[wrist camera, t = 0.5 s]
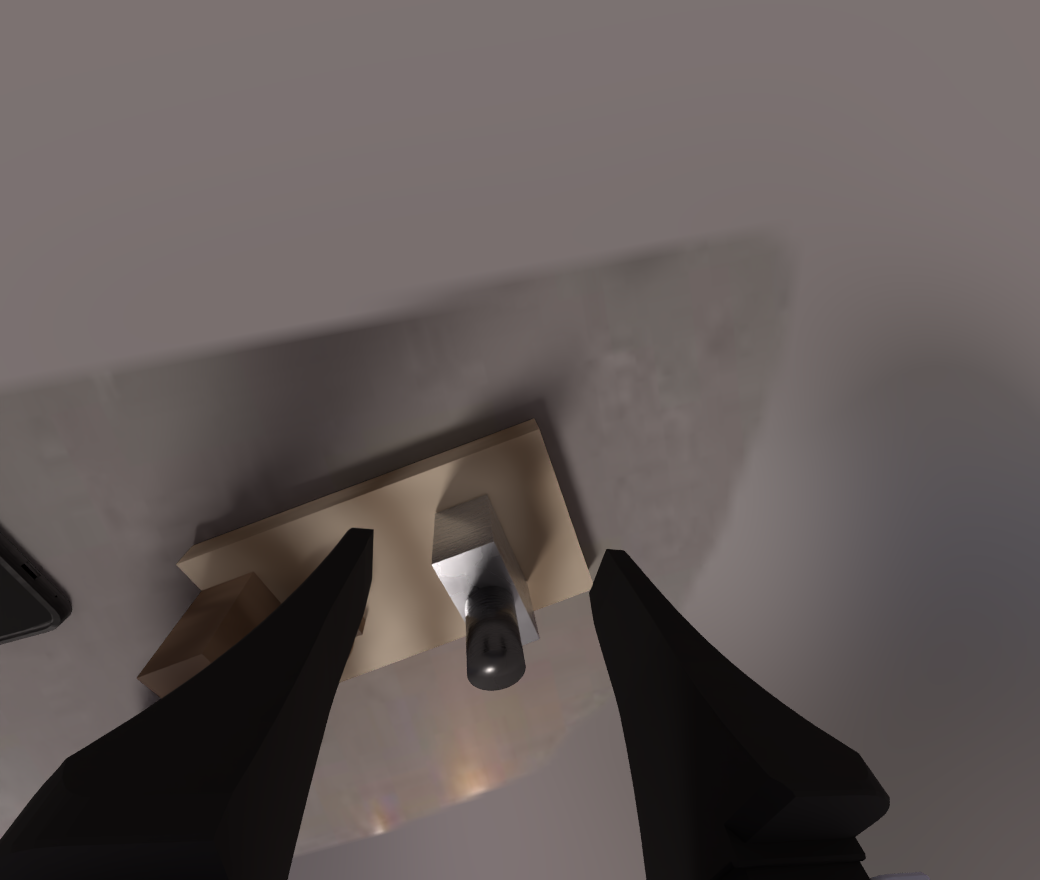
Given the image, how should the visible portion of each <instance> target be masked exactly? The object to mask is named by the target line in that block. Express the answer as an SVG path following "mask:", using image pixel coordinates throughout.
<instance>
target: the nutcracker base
mask: <svg viewBox="0 0 1040 880" xmlns="http://www.w3.org/2000/svg"><path fill="white" fill-rule="evenodd" d="M486 494H487V495H488V497H489V499H490V501H491V504H492V506H493V508H494V510H495V513H496V515H497V517H498V519H499V521H500V524H501V526H502V528H503V530H504V533H505V535H506V537H507V539H508V541H509V544H510V546H511V548H512V550H513V553H514V555H515V557H516V559H517V561H518V564H519V566H520V568H521V570H522V573H523V575H524V577H525V579H526V581H527V584H528V588H529V593H530V597H531V602H532V606H533V611H535V610H538V609H540V608H543V607H546V606H548V605H551V604H554V603H557V602H559V601H562V600H565V599H567V598H570V597H573V596H575V595H578V594H581V593H584V592H586V591H589V590H591V587H592V585H593V582H592V580H591V577H590V574H589V571H588V568H587V565H586V562H585V559H584V556H583V554H582V551H581V548H580V545H579V542H578V539H577V536H576V533H575V530H574V528H573V525H572V522H571V519H570V516H569V513H568V510H567V507H566V505H565V502H564V499H563V496H562V493H561V490H560V487H559V484H558V481H557V479H556V476H555V473H554V470H553V467H552V464H551V461H550V458H549V456H548V453H547V450H546V447H545V444H544V441H543V438H542V435H541V432H540V430H539V427H538V425H537V423H536V421H535V419H531V420H528V421H526V422H523V423H520V424H518V425H515V426H512V427H510V428H507V429H504V430H502V431H499V432H496V433H494V434H491V435H488V436H486V437H483V438H480V439H477V440H475V441H472V442H469V443H467V444H464V445H461V446H459V447H456V448H453V449H451V450H448V451H445V452H443V453H440V454H437V455H435V456H432V457H429V458H427V459H424V460H421V461H418V462H416V463H413V464H410V465H408V466H405V467H402V468H400V469H397V470H394V471H392V472H389V473H386V474H384V475H381V476H378V477H376V478H373V479H370V480H368V481H365V482H362V483H359V484H357V485H354V486H351V487H349V488H346V489H343V490H341V491H338V492H335V493H333V494H330V495H327V496H325V497H322V498H319V499H317V500H314V501H311V502H309V503H306V504H303V505H300V506H298V507H295V508H292V509H290V510H287V511H284V512H282V513H279V514H276V515H274V516H271V517H268V518H266V519H263V520H260V521H258V522H255V523H252V524H250V525H247V526H244V527H241V528H239V529H236V530H233V531H231V532H228V533H225V534H223V535H220V536H217V537H215V538H212V539H209V540H207V541H204V542H201V543H199V544H196V545H193V546H192V547H191V548H190V549H189V550H188V552H187V553H186V554H185V555H184V556H183V557H182V558H181V559H180V561H179V562H178V563H177V564H176V565H177V566H178V567H179V568H180V569H181V570H182V571H183V572H184V573H185V574H186V575H187V576H188V577H189V578H190V579H191V580H192V581H193V582H194V584H195V585H196V586H197V587H198V588H199V589H200V590H201V592H200V594H199V595H198V596H197V598H196V599H195V600H194V602H193V603H192V604H191V606H190V607H189V608H188V610H187V611H186V612H185V614H184V615H183V616H182V618H181V619H180V620H179V622H178V623H177V624H176V626H175V627H174V628H173V630H172V631H171V632H170V634H169V635H168V636H167V638H166V639H165V640H164V642H163V643H162V644H161V646H160V647H159V648H158V650H157V651H156V653H155V654H154V655H153V657H152V658H151V659H150V661H149V662H148V663H147V665H146V666H145V667H144V669H143V670H142V671H141V673H140V674H139V675H138V677H137V679H138V680H139V681H140V682H142V683H143V684H144V685H145V686H147V687H148V688H149V689H150V690H152V691H153V692H154V693H155V694H157V695H158V696H159V697H160V698H163V697H164V696H166V695H167V694H169V693H170V692H172V691H173V690H174V689H176V688H177V687H179V686H180V685H182V684H183V683H184V682H186V681H187V680H189V679H190V678H192V677H193V676H195V675H196V674H197V673H199V672H200V671H201V670H203V669H204V668H205V667H207V666H208V665H209V664H211V663H212V662H213V661H215V660H216V659H217V658H218V657H220V656H221V655H222V654H223V653H225V652H226V651H227V650H229V649H230V648H231V647H232V646H234V645H235V644H236V643H237V642H239V641H240V640H241V639H242V638H244V637H245V636H246V635H247V634H248V633H249V632H251V631H252V630H253V629H254V628H255V627H256V626H258V625H259V624H260V623H261V622H262V621H263V620H264V619H266V618H267V617H268V616H269V615H270V614H271V613H272V612H273V611H274V610H275V609H276V608H278V607H279V606H280V605H281V604H282V603H283V602H284V601H285V600H286V599H287V598H288V597H289V596H290V595H291V594H292V593H293V592H294V591H295V590H296V589H297V588H298V587H299V586H300V585H301V584H302V583H303V582H304V581H305V580H306V579H307V578H308V577H309V575H310V574H311V573H312V572H313V571H314V570H315V569H316V568H317V567H318V566H319V565H320V564H321V562H322V561H323V560H324V559H325V558H326V557H327V556H328V554H329V553H330V552H331V551H332V550H333V548H334V547H335V546H336V545H337V544H338V542H339V541H340V540H341V539H342V537H343V536H344V535H345V533H346V532H347V531H348V530H349V529H350V528H364V529H374V538H373V571H372V582H371V587H370V591H369V595H368V599H367V603H366V607H365V611H364V615H363V618H362V620H361V623H360V626H359V629H358V632H357V635H356V637H355V642H354V647H353V650H352V653H351V655H350V657H349V659H348V660H347V662H346V665H345V668H344V671H343V673H342V676H341V679H340V682H343V681H345V680H348V679H351V678H353V677H356V676H359V675H362V674H364V673H367V672H370V671H372V670H375V669H378V668H381V667H383V666H386V665H389V664H391V663H394V662H397V661H399V660H402V659H405V658H408V657H410V656H413V655H416V654H418V653H421V652H424V651H427V650H429V649H432V648H435V647H437V646H440V645H443V644H446V643H448V642H451V641H454V640H456V639H459V638H462V637H464V636H466V623H465V621H464V620H463V618H462V616H461V615H460V613H459V611H458V609H457V608H456V606H455V604H454V603H453V601H452V599H451V597H450V596H449V594H448V592H447V591H446V589H445V587H444V585H443V584H442V582H441V580H440V579H439V577H438V575H437V573H436V572H435V570H434V568H433V567H432V565H431V564H432V550H433V535H434V521H435V513H438V512H440V511H443V510H446V509H448V508H451V507H454V506H457V505H459V504H462V503H465V502H467V501H470V500H473V499H475V498H478V497H481V496H483V495H486ZM340 682H339V683H340Z"/></svg>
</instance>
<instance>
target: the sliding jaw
mask: <svg viewBox="0 0 1040 880" xmlns="http://www.w3.org/2000/svg"><path fill="white" fill-rule="evenodd" d="M431 565H432V567H433V568H434V570H435V572H436V573H437V575H438V577H439V579H440V580H441V582H442V584H443V585H444V587H445V589H446V591H447V592H448V594H449V596H450V597H451V599H452V601H453V603H454V604H455V606H456V608H457V609H458V611H459V613H460V615H461V616H462V618H463V620H464V621H465V623H466V653H467V677H468V680H469V681H470V683H471V684H472V685H473V686H475V687H477V688H479V689H482V690H488V691H494V690H501V689H504V688H507V687H510V686H512V685H513V684H515V683H516V682H518V681H519V680H520V679H521V677H522V676H523V674H524V672H525V668H526V666H525V660H524V654H523V649H522V645H525V644H528V643H530V642H533V641H536V640H539V639H540V638H539V633H538V629H537V624H536V620H535V615H534V611H533V606H532V602H531V597H530V593H529V588H528V584H527V581H526V579H525V577H524V575H523V573H522V570H521V568H520V566H519V564H518V561H517V559H516V557H515V555H514V553H513V550H512V548H511V546H510V544H509V541H508V539H507V537H506V535H505V533H504V530H503V528H502V526H501V524H500V521H499V519H498V517H497V515H496V513H495V510H494V508H493V506H492V504H491V501H490V499H489V497H488V495H487V494H486V495H483V496H481V497H478V498H475V499H473V500H470V501H467V502H465V503H462V504H459V505H457V506H454V507H451V508H448V509H446V510H443V511H440V512H438V513H435V521H434V535H433V550H432V564H431Z"/></svg>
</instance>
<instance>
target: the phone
mask: <svg viewBox="0 0 1040 880" xmlns="http://www.w3.org/2000/svg"><path fill="white" fill-rule="evenodd" d="M23 564H25V565H26V566H27V567H28V568H29V569H30V570H31V571H32V572H33V573H34V574H35V575H36V576H37V577H36V578H35V579H33V578H32V577H31V576H30V575H29V574H28V573H27V572H26V571H25V570H24V569H23V568H22V567H21V565H23ZM56 595H57V596H58V597H57V598H56V597H55V596H56ZM71 612H72V606H71V604H70V603H69V601H68V600H67V599H66V598H65V597H64V596H63V595H62V594H61V593H60V592H59V591H58V590H57V589H56V588H55V587H54V586H53V585H52V584H51V583H50V582H49V581H48V580H47V579H46V578H45V577H44V576H43V575H42V574H41V573H40V572H39V571H38V570H37V569H36V568H35V567H34V566H33V565H32V564H31V563H30V562H29V561H28V560H27V559H26V558H25V557H24V556H23V555H22V554H21V553H20V552H19V551H18V550H17V549H16V548H15V547H14V546H13V544H12V543H11V542H10V541H9V540H8V539H7V538H6V537H5V536H4V535H3V534H2V533H1V532H0V645H1V644H4V643H8V642H12V641H16V640H19V639H23V638H27V637H31V636H34V635H38V634H42V633H46V632H49V631H52V630H54V629H56V628H57V627H58V626H59V625H60V624H61V623H62V622H63V621H64V620H65V619H67V618H68V617H69V616H70V615H71Z"/></svg>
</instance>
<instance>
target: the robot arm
mask: <svg viewBox="0 0 1040 880" xmlns="http://www.w3.org/2000/svg"><path fill="white" fill-rule="evenodd" d="M373 538H374V529H364V528H350V529H349V530H348V531H347V532H346V533H345V535H344V536H343V537H342V539H341V540H340V541H339V542H338V544H337V545H336V546H335V547H334V548H333V550H332V551H331V552H330V553H329V554H328V556H327V557H326V558H325V559H324V560H323V561H322V562H321V564H320V565H319V566H318V567H317V568H316V569H315V570H314V571H313V572H312V573H311V574H310V575H309V577H308V578H307V579H306V580H305V581H304V582H303V583H302V584H301V585H300V586H299V587H298V588H297V589H296V590H295V591H294V592H293V593H292V594H291V595H290V596H289V597H288V598H287V599H286V600H285V601H284V602H283V603H282V604H281V605H280V606H279V607H278V608H276V609H275V610H274V611H273V612H272V613H271V614H270V615H269V616H268V617H267V618H266V619H264V620H263V621H262V622H261V623H260V624H259V625H258V626H256V627H255V628H254V629H253V630H252V631H251V632H249V633H248V634H247V635H246V636H245V637H244V638H242V639H241V640H240V641H239V642H237V643H236V644H235V645H234V646H232V647H231V648H230V649H229V650H227V651H226V652H225V653H223V654H222V655H221V656H220V657H218V658H217V659H216V660H215V661H213V662H212V663H211V664H209V665H208V666H207V667H205V668H204V669H203V670H201V671H200V672H199V673H197V674H196V675H195V676H193V677H192V678H190V679H189V680H187V681H186V682H184V683H183V684H182V685H180V686H179V687H177V688H176V689H174V690H173V691H172V692H170V693H169V694H167V695H166V696H164V697H163V698H161V699H160V700H159V701H157V702H156V703H154V704H153V705H151V706H150V707H148V708H147V709H145V710H144V711H142V712H141V713H139V714H138V715H136V716H135V717H133V718H131V719H130V720H128V721H127V722H125V723H123V724H122V725H120V726H119V727H117V728H115V729H114V730H112V731H110V732H109V733H107V734H106V735H104V736H102V737H101V738H99V739H98V740H96V741H94V742H93V743H91V744H89V745H88V746H86V747H85V748H83V749H81V750H80V751H78V752H76V753H75V754H73V755H71V756H70V757H68V758H66V760H65V761H64V762H63V763H62V764H61V766H60V767H59V768H58V769H57V770H56V771H55V772H54V773H53V775H52V776H51V777H50V778H49V779H48V780H47V781H46V782H45V783H44V784H43V786H42V787H41V788H40V789H39V790H38V792H37V793H36V794H35V795H34V796H33V798H32V799H31V800H30V801H29V803H28V804H27V805H26V807H25V808H24V809H23V810H22V812H21V813H20V814H19V816H18V817H17V818H16V820H15V821H14V822H13V824H12V825H11V826H10V827H9V829H8V830H7V831H6V833H5V834H4V835H3V837H2V838H1V839H0V880H287V879H288V875H289V871H290V867H291V863H292V858H293V854H294V850H295V846H296V842H297V838H298V833H299V829H300V825H301V821H302V817H303V813H304V809H305V805H306V801H307V797H308V793H309V789H310V785H311V781H312V777H313V773H314V769H315V766H316V762H317V758H318V754H319V750H320V746H321V742H322V739H323V735H324V731H325V727H326V724H327V720H328V716H329V712H330V709H331V706H332V702H333V699H334V696H335V693H336V690H337V687H338V685H339V682H340V679H341V676H342V673H343V671H344V668H345V665H346V662H347V660H348V657H349V654H350V651H351V648H352V646H353V643H354V640H355V637H356V635H357V632H358V629H359V626H360V623H361V620H362V618H363V615H364V611H365V607H366V603H367V599H368V595H369V591H370V587H371V582H372V571H373ZM589 595H590V602H591V609H592V615H593V620H594V625H595V629H596V633H597V636H598V640H599V643H600V647H601V650H602V653H603V657H604V660H605V663H606V667H607V670H608V674H609V677H610V680H611V684H612V687H613V690H614V694H615V697H616V701H617V705H618V708H619V713H620V717H621V722H622V727H623V732H624V737H625V742H626V747H627V753H628V759H629V764H630V769H631V775H632V781H633V787H634V793H635V800H636V807H637V813H638V820H639V826H640V833H641V840H642V849H643V856H644V864H645V872H646V880H930V878H929V877H928V876H927V875H926V874H924V873H922V872H913V873H898V874H885V875H879V876H876V877H873V878H869V877H868V875H867V873H866V872H865V870H864V868H863V867H862V865H861V863H860V861H863V860H865V859H866V857H865V853H864V851H863V849H862V848H861V846H860V844H859V843H858V841H857V839H856V838H855V837H856V836H857V835H858V834H860V833H861V832H862V831H864V830H865V829H867V828H868V827H869V826H871V825H872V824H874V823H875V822H876V821H878V820H879V819H880V818H881V817H882V816H883V815H885V814H886V812H887V811H888V809H889V806H890V798H889V796H888V794H887V793H886V792H885V790H884V789H883V787H882V786H881V784H880V783H879V782H878V780H877V779H876V777H875V776H874V774H873V773H872V772H871V770H870V769H869V767H868V766H867V765H866V763H865V762H864V760H863V759H862V757H861V756H860V755H859V753H857V752H856V751H854V750H853V749H851V748H849V747H848V746H846V745H845V744H843V743H842V742H840V741H838V740H837V739H835V738H834V737H832V736H831V735H829V734H827V733H826V732H824V731H823V730H821V729H820V728H818V727H816V726H815V725H813V724H812V723H810V722H809V721H807V720H806V719H804V718H803V717H802V716H800V715H799V714H797V713H796V712H795V711H793V710H792V709H790V708H789V707H788V706H786V705H785V704H783V703H782V702H781V701H779V700H778V699H777V698H775V697H774V696H772V695H771V694H770V693H769V692H767V691H766V690H765V689H763V688H762V687H761V686H760V685H758V684H757V683H756V682H755V681H753V680H752V679H751V678H749V677H748V676H747V675H746V674H744V673H743V672H742V671H741V670H740V669H738V668H737V667H736V666H735V665H734V664H732V663H731V662H730V661H729V660H728V659H727V658H726V657H725V656H723V655H722V654H721V653H720V652H719V651H718V650H717V649H716V648H715V647H713V646H712V645H711V644H710V643H709V642H708V641H707V640H706V639H705V638H704V637H703V636H702V635H700V633H699V632H698V631H697V630H696V629H695V628H694V627H693V626H692V625H691V624H690V623H689V622H688V621H687V620H686V619H685V618H684V617H683V616H682V615H681V614H680V613H679V612H678V611H677V610H676V609H675V608H674V607H673V605H672V604H671V603H670V602H669V601H668V600H667V599H666V598H665V597H664V595H663V594H662V593H661V592H660V591H659V590H658V589H657V588H656V586H655V585H654V584H653V583H652V582H651V581H650V580H649V578H648V577H647V576H646V575H645V574H644V573H643V571H642V570H641V569H640V568H639V567H638V566H637V564H636V563H635V562H634V561H633V560H632V559H631V557H630V556H629V555H628V554H627V553H626V552H625V551H624V550H612V549H606V551H605V554H604V556H603V559H602V562H601V564H600V567H599V569H598V572H597V574H596V577H595V580H594V582H593V585H592V587H591V590H590V592H589Z"/></svg>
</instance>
